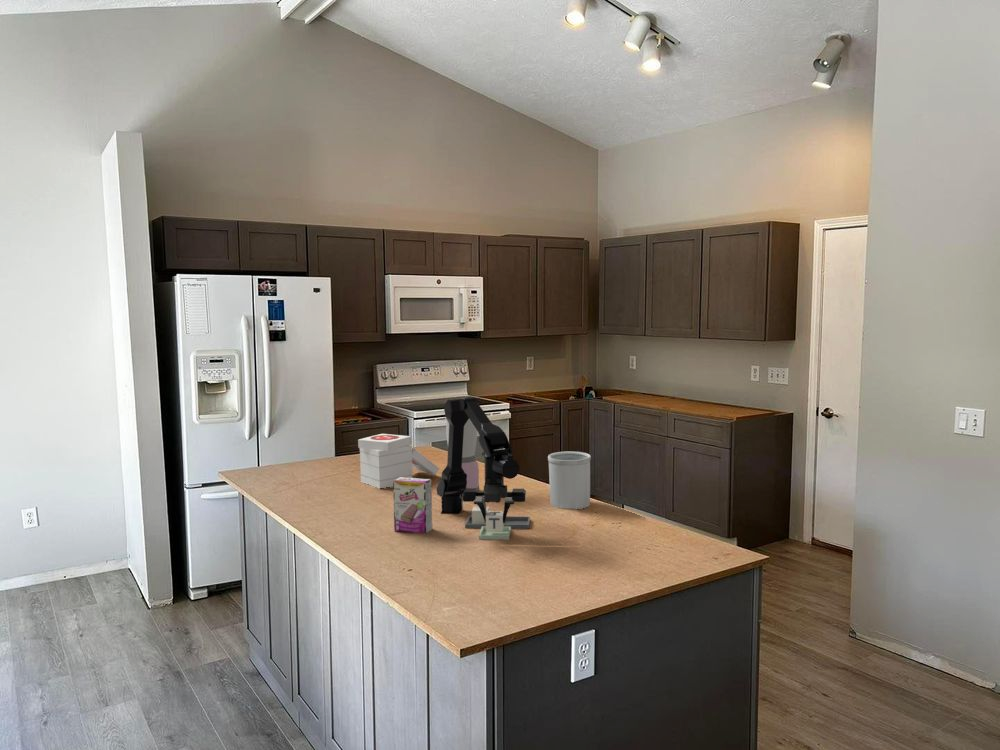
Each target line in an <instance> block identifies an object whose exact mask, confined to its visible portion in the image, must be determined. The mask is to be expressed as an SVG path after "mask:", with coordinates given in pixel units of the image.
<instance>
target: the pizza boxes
mask: <svg viewBox="0 0 1000 750" xmlns="http://www.w3.org/2000/svg"><path fill="white" fill-rule="evenodd" d="M357 447H358V449H359V461H360V463H359V465H360V469H359V470H360V483H361V482H363V483H362V484H364V483H366V484H369V485H371V486H370V487H372V486H374V487H373V488H375V487H377V488H384V489H387V488H386V487H390V488H392V487H391V486H393V480H394V479H397V478H399V477H408V478H413V468H414V469H415V470H418V471H420V472H424V473H427V474H430V475H435V476H436V475H437V474H438V472H439V471H440V468H439V467H438V466H437V465H436V464H435V463H433V462H432V461H431V460H429V459H428V458H427V457H426V456H424V455H423V454H422V453H421V452H419V451H418V450H417V449H415V448H413V447H412V436H411V435H402V434H392V433H391V434H389V433H380V434H375V435H371V436H367V437H363V438H360V439H357ZM366 484H365V485H366ZM369 485H368V486H369ZM377 488H376V489H377Z"/></svg>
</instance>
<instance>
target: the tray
mask: <svg viewBox="0 0 1000 750" xmlns="http://www.w3.org/2000/svg"><path fill="white" fill-rule="evenodd" d="M511 532H512V529H511V527H504V529H503V532H486V526H482V528H480V531H479V534H478V540H483V541H484V540H491V541H492V540H493V541H496V540H501V541H502V540H503V541H508V540H509V541H510V536H511Z"/></svg>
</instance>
